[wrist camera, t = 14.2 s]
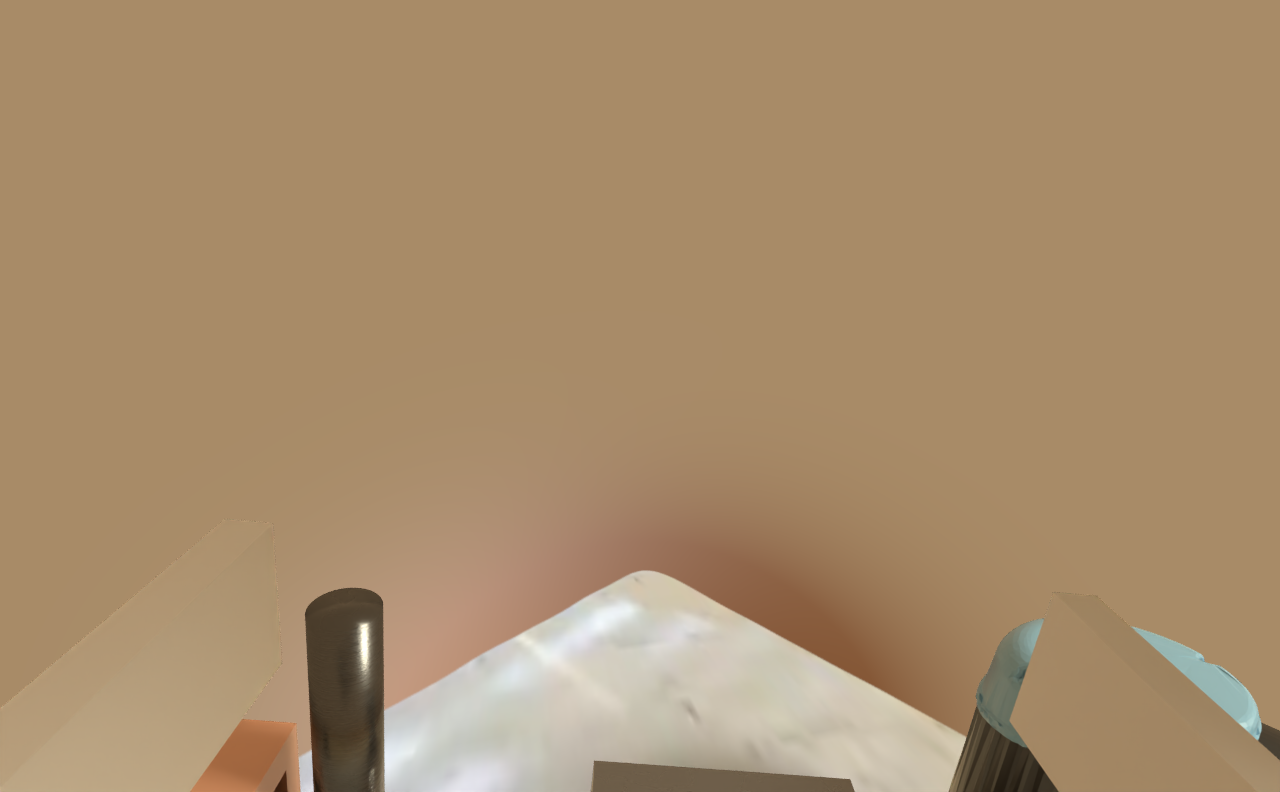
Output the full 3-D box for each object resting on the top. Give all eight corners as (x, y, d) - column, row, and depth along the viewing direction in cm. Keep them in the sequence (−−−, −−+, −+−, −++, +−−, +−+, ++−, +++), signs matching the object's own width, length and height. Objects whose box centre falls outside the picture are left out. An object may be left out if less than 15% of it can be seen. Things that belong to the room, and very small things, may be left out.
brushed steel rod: (637, 883, 43) (676, 614, 37) (637, 944, 39) (681, 659, 33) (248, 858, 42) (223, 576, 35) (214, 919, 38) (180, 619, 32)
